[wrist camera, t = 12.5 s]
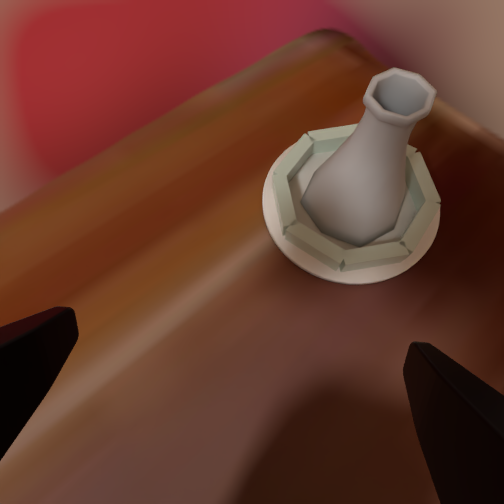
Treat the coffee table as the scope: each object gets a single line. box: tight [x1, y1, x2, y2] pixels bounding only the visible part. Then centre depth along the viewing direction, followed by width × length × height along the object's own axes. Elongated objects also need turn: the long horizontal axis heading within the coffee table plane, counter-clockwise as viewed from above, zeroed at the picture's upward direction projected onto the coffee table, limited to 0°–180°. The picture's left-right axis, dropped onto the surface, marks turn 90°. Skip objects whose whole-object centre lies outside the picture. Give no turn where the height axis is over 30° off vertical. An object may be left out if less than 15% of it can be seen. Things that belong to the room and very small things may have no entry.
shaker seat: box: [263, 124, 441, 285], centre depth 25 cm, size 13×13×2 cm
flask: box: [300, 67, 437, 248], centre depth 20 cm, size 7×7×10 cm
